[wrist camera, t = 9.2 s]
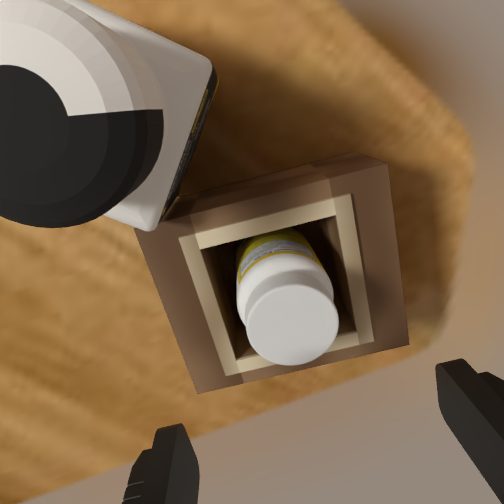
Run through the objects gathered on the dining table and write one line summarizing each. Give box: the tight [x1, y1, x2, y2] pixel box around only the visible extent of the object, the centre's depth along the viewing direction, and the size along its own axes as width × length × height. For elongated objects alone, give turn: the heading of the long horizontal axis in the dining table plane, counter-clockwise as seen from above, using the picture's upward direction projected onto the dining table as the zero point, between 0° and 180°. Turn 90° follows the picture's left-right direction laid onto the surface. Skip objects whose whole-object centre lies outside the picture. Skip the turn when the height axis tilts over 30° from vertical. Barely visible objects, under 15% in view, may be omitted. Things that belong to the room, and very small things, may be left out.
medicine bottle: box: [0, 0, 219, 232], centre depth 15 cm, size 7×7×12 cm
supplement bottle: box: [236, 226, 339, 366], centre depth 20 cm, size 5×5×8 cm
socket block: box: [134, 152, 410, 394], centre depth 21 cm, size 12×10×5 cm
